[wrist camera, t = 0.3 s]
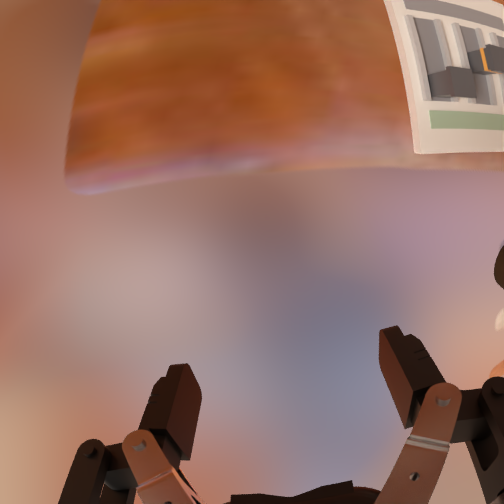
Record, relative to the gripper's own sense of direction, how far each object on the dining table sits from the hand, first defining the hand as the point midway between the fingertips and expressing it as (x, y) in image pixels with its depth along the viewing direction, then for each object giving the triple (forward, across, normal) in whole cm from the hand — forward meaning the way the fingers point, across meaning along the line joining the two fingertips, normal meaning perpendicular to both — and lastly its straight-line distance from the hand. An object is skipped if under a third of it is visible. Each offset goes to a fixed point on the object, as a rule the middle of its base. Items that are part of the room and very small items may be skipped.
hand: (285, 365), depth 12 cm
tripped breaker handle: (+26, -33, -16) cm, 45 cm away
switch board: (+29, -33, -16) cm, 47 cm away
